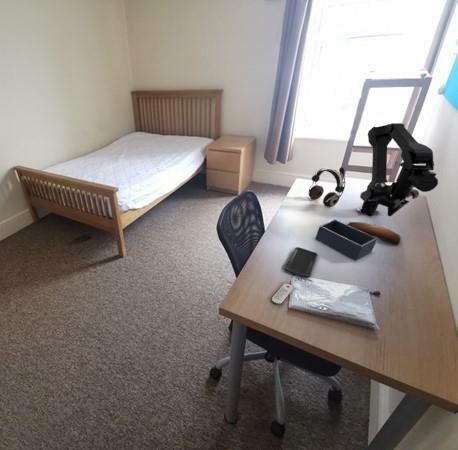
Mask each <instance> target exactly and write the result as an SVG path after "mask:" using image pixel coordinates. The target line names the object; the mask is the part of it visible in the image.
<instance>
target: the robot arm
mask: <svg viewBox="0 0 458 450" xmlns="http://www.w3.org/2000/svg"><path fill="white" fill-rule="evenodd" d="M367 139H368V143H369V145H370V146H371V147H372V165H371V167H372V168H371V181H370V182H369V183H368V185H367V187H366V190H364V191H362V192H360V196H359V198H360V199H361V200H362V201H363V202H362V204H361V207H359V208H357V209H356V211H357V212H358V213H361V214H363V215H366V216H370V217H373V216H375V215H377V214H379V213H380V211H379V210H377V209H378V207H379V205H380V206H382V207H386V208H387V216H388V217H392V216H394V215H395V214H396V213H397V212H398V211H400V210H401V209H402V208H403V207H404V206H406V205H407V204H408V203H410V201H409V200H408V198H410V197H411V199H413V200H415V199H417V198H418V197H419V195H420V192H423V193H427V192H428V193H429V192H431V191H432V190H434V189H435V188H436V187H437V186H438V185H439V179H438V178H437V177H436V176H437V173H436V172H433V171H434V169H435V162H434V152H433V150H432V149H431V147H429V146H427V145H426V144H423V143H421V142H420V143H419V142H418V141H417V140H416V139H415V138H414V137H413V136H412V134H411V133H410V132H409V131H408V129H407V128H406V127H405V124H404V123H401V122H391V123H387V124H385V125H380V126H378V125H377V126H376V125H375V126H372V127H371V129H369V130H368V131H367ZM392 140H393V141H394V142H395V144H396V145H397V146H398V148H399V149H400V150H401V153H400V157H401V159H402V161H403V162H400V163H399V164H398V166H399V167H401V168H400V171H399V173H398V175H397V176H396V180H395V181H392V182H391V181H388V179H387V168H388V166H387V165H388V146H389V144H390V143H391V142H392ZM413 188H415V189H413Z"/></svg>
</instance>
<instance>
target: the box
mask: <svg viewBox="0 0 458 450" xmlns="http://www.w3.org/2000/svg"><path fill="white" fill-rule="evenodd" d="M378 240H379V238H378V237H374V236H371V235H369V234H367V233H364V232H362V231H360V230H358V229H355V228H353V227H351V226H349V225H348V223H345V222H342V221H340V220H338V219H336V218H335V219H332V220H330V221H327V222H326V223H323V224H321V225H319V226H318V229H317V232H316V235H315V241H317V242H319V243H321V244H323V245H325V246H326V247H328V248H330V249H332V250H334V251H336V252H337V253H340V254H342V255H343V256H345V257H346V258H349V259H351V260H353V261H355V262H357V261H359V260H360V259H362V258H364V257H366V256H368V255H369V254H370V255H371V253H372V252H373V250H374V247H375V245H376V243H377V241H378Z"/></svg>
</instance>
